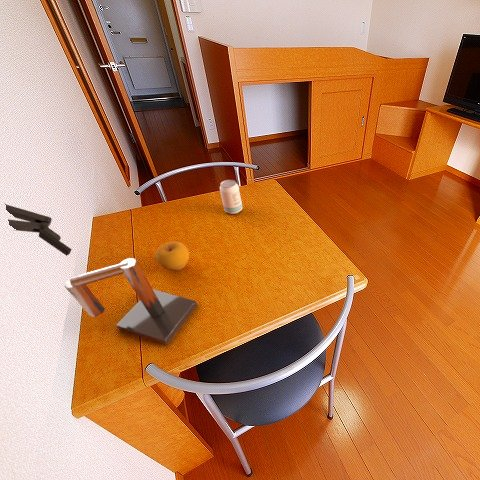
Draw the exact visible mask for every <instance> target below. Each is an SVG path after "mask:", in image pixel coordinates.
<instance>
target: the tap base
mask: <svg viewBox="0 0 480 480" xmlns="http://www.w3.org/2000/svg"><path fill="white" fill-rule="evenodd" d="M152 289H153V291H154V293H155V294H156V296H157V298H158V300H159V301H160V303H161V305H162V307H163V309H164V311H163V313H162V314H161V315H160V316H158V317H151V316H150V314H149V313H148V311H147V310H146V308H145V306H144V305H143V303H142V302H141V300H140V299H139V301H138V302H137V303H136V304H135V305H134V306H133V307H132V308H131V309H130V310H129V311H128V312H127V313H125V315H124V316H123V317H122V318H121V319H120V321H118V322H117V323H116V325H115V326H116V328H117V329H118V330H119V331H121V332H125V333H128V334H131V335H134V336H138V337H141V338H144V339H148V340H151V341H154V342H156V343H160V344H163V345H167V346H168V345H169V344H170V343H171V341H172V339H173V338H174V337H175V336H176V334H177V333H179V331H180V329H181V328H182V326H183V325H184V324H185V322H187V320H188V318H189V317H190V316H191V315H192V313H193V312H194V310H195V309H196V308H197V307H198V303H197V301H196V300H194V299H190V298H186V297H182V296H179V295H176V294H172V293H169V292H165V291H161V290H157V289H154V288H152Z"/></svg>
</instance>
